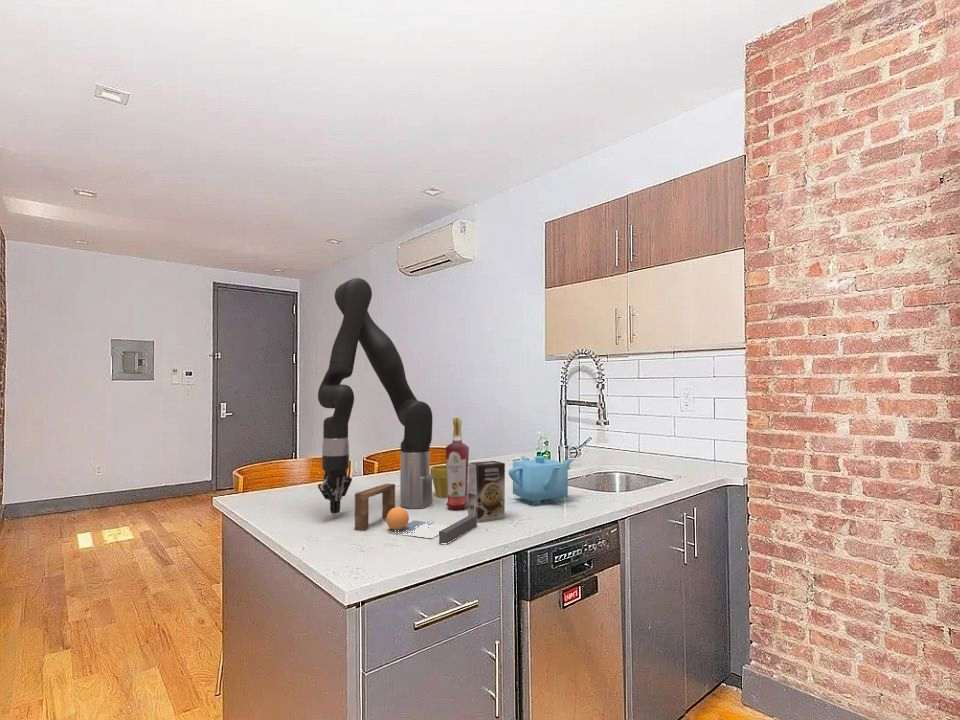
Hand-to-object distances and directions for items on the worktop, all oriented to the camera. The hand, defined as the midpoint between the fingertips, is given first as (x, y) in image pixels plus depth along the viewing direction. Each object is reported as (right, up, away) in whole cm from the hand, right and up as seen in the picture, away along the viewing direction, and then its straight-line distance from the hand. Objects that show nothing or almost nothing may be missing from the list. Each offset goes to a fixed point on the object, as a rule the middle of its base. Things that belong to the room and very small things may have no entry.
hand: (335, 512), depth 162 cm
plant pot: (+30, -2, +30) cm, 43 cm away
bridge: (+13, -1, -6) cm, 14 cm away
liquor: (+35, -2, +12) cm, 37 cm away
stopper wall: (+37, -1, -16) cm, 40 cm away
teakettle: (+63, -2, +22) cm, 67 cm away
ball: (+20, +2, -12) cm, 23 cm away
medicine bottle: (+40, -2, +20) cm, 45 cm away
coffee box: (+44, -2, 0) cm, 44 cm away
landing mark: (+27, -1, -12) cm, 29 cm away
